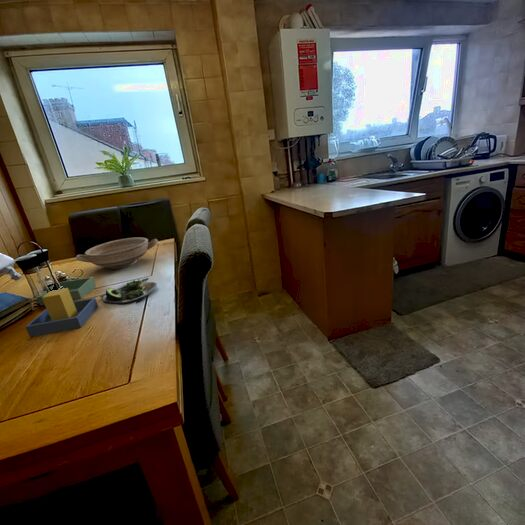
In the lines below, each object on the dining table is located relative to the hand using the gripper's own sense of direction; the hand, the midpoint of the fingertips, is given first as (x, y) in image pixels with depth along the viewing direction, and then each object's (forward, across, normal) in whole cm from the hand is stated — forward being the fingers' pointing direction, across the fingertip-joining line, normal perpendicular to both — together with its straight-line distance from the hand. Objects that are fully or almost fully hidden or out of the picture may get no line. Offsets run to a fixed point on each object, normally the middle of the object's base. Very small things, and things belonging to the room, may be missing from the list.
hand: (9, 284), depth 82 cm
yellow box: (+18, 0, -3) cm, 19 cm away
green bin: (+12, -24, -10) cm, 28 cm away
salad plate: (+30, -13, +7) cm, 34 cm away
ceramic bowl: (+19, -56, -3) cm, 60 cm away
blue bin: (+19, 0, -4) cm, 19 cm away
